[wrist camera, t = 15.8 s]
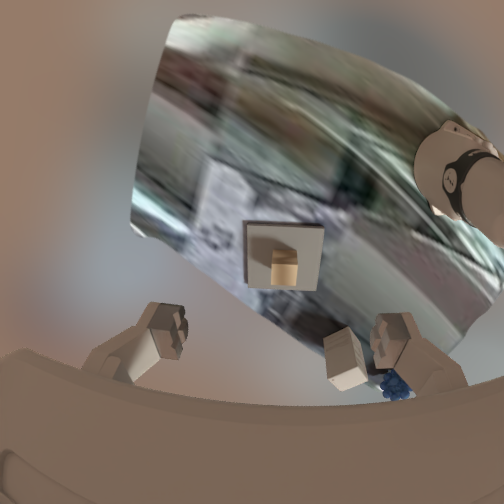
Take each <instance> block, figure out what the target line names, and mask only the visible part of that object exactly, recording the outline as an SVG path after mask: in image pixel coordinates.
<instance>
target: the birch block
mask: <svg viewBox="0 0 504 504" xmlns="http://www.w3.org/2000/svg"><path fill="white" fill-rule="evenodd" d="M297 269H298V259H297V251H295V250H274V249H273V254H272V271H271V285H285V286H296V279H297Z"/></svg>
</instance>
